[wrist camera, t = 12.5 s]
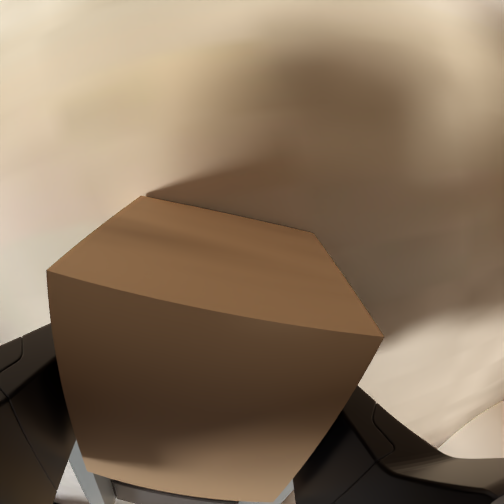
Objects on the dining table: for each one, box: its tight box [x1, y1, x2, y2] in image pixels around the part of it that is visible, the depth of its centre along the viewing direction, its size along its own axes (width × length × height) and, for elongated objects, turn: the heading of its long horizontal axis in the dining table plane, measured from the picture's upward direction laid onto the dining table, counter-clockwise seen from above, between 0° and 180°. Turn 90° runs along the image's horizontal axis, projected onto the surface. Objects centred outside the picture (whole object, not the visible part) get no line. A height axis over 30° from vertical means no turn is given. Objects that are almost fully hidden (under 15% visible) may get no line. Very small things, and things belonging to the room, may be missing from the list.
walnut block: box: [46, 196, 384, 502], centre depth 7 cm, size 6×5×5 cm
